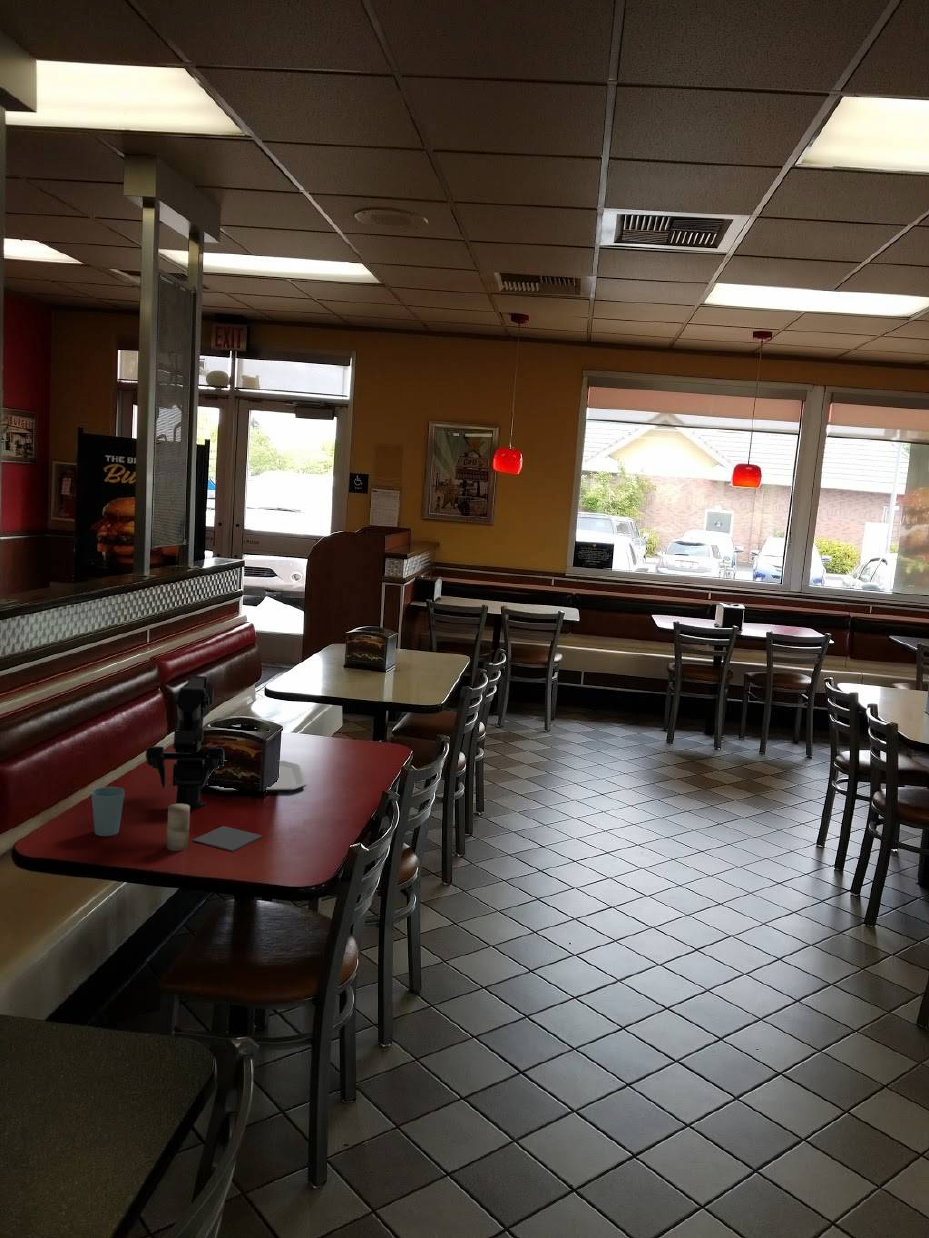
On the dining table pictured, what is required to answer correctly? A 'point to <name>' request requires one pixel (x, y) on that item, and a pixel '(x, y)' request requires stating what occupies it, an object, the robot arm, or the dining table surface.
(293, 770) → the plate
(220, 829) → the placemat
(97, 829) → the cup
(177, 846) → the beige cylinder
